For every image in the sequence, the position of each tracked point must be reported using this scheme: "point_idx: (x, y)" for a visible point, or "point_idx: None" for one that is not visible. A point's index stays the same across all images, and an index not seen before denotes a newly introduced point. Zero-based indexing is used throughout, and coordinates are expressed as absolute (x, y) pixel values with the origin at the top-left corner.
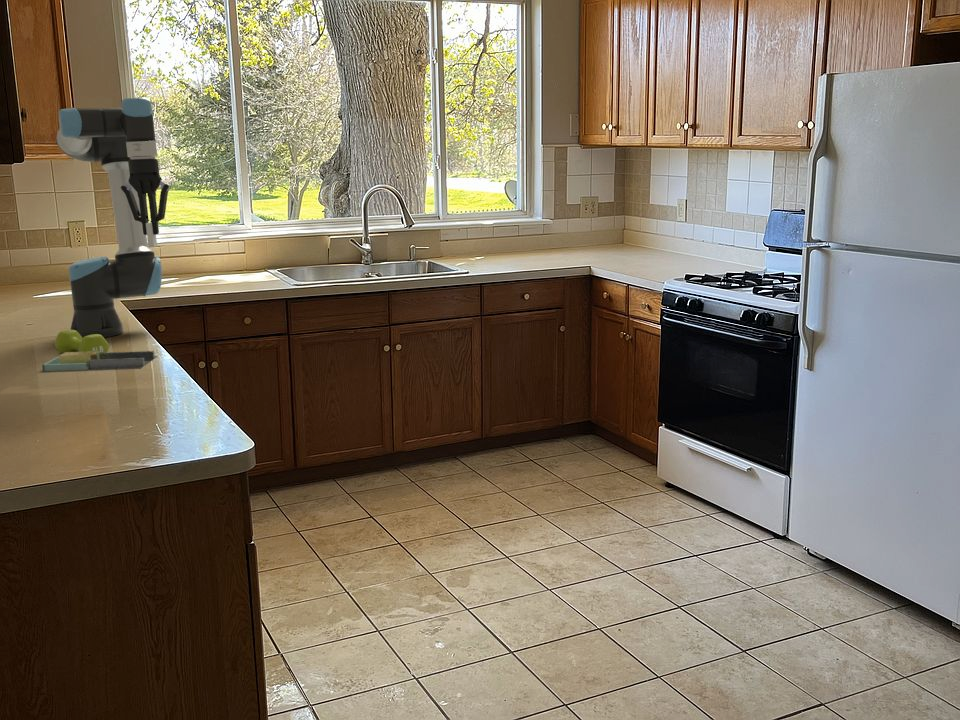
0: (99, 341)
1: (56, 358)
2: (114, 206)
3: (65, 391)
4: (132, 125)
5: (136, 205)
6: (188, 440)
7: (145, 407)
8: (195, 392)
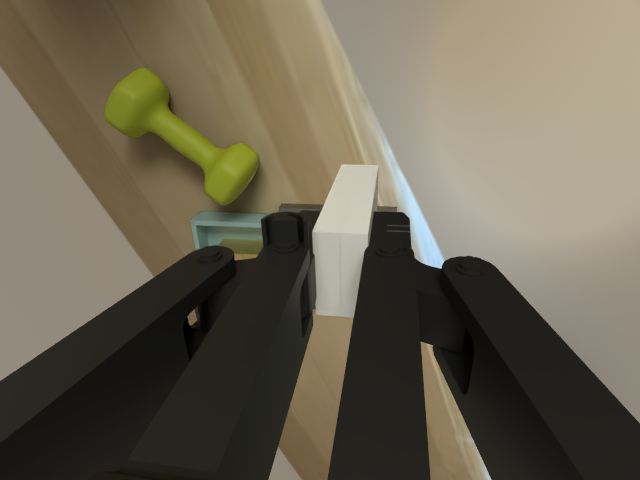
0: (244, 185)
1: (199, 248)
2: None
3: (302, 376)
4: None
5: (128, 374)
6: None
7: (454, 469)
8: None
